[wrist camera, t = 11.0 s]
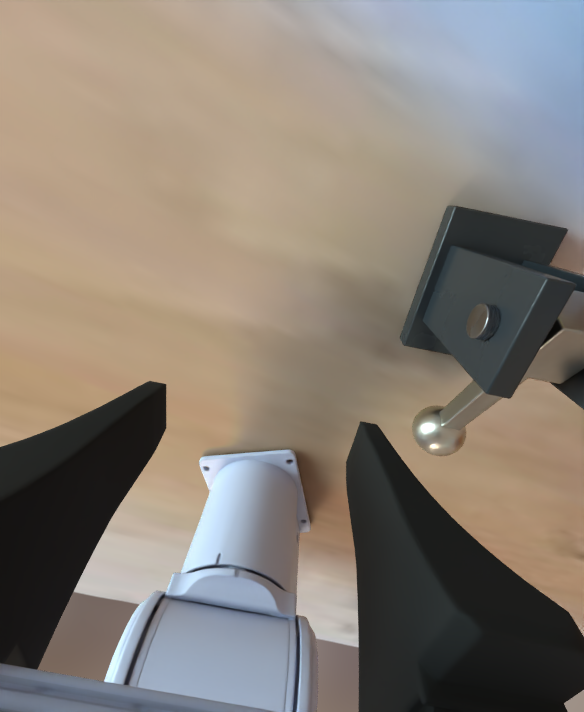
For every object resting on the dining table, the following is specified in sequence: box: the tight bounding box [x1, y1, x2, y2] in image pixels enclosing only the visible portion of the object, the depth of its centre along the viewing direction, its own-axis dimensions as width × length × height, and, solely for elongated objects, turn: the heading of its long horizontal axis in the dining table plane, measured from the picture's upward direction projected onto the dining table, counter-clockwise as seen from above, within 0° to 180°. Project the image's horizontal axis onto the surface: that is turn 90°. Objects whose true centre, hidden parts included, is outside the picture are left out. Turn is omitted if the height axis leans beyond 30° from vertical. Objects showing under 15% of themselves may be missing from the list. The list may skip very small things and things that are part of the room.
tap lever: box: [412, 291, 584, 456], centre depth 16 cm, size 12×3×3 cm, turn 169°
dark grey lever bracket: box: [400, 206, 584, 409], centre depth 15 cm, size 8×6×9 cm
